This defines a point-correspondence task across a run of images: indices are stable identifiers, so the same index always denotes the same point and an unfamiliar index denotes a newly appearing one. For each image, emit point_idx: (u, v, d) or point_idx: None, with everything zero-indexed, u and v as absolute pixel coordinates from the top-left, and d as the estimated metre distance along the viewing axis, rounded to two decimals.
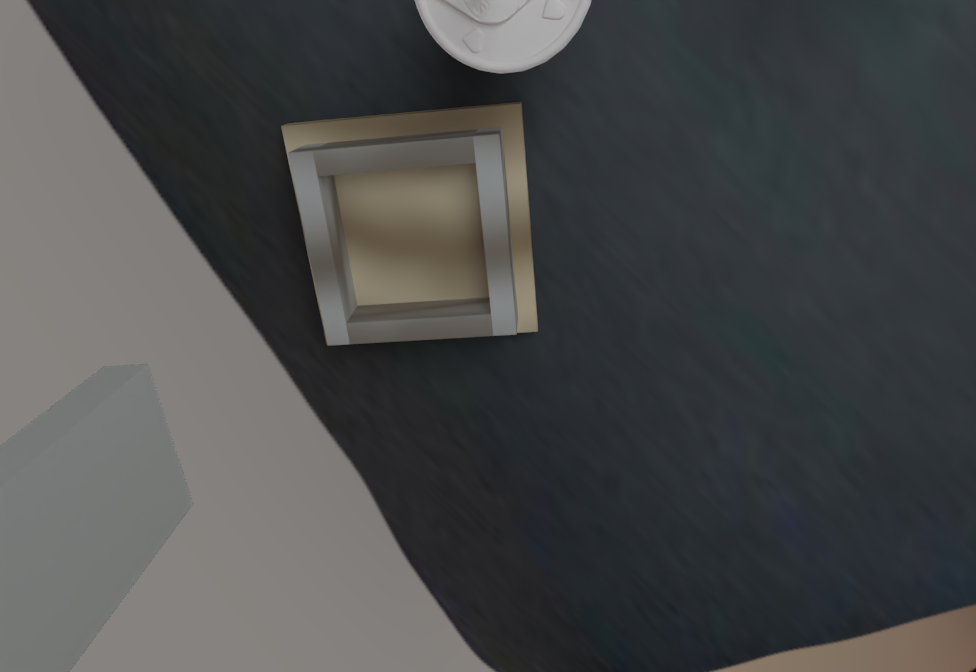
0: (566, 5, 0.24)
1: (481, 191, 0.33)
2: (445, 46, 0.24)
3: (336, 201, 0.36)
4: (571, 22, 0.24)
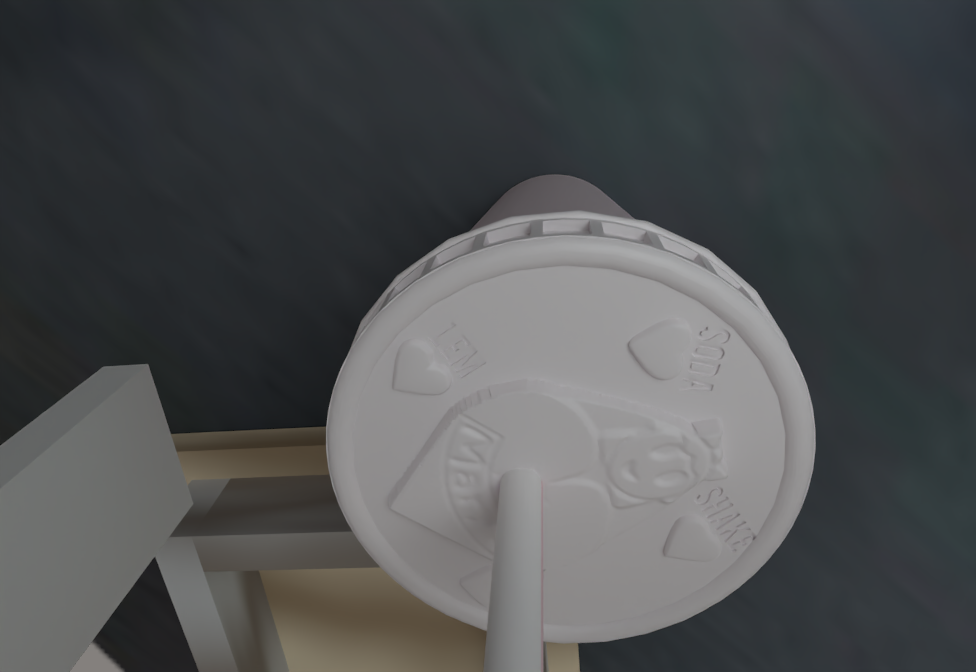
0: (727, 532, 0.09)
1: None
2: (418, 596, 0.10)
3: None
4: (736, 564, 0.09)
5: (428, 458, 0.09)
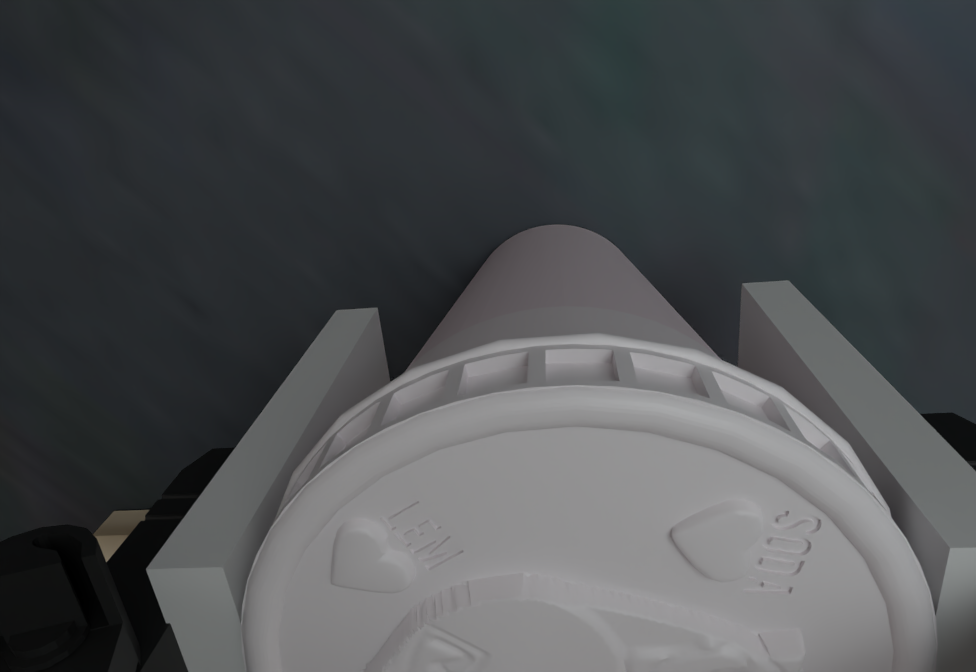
0: None
1: None
2: None
3: None
4: None
5: None
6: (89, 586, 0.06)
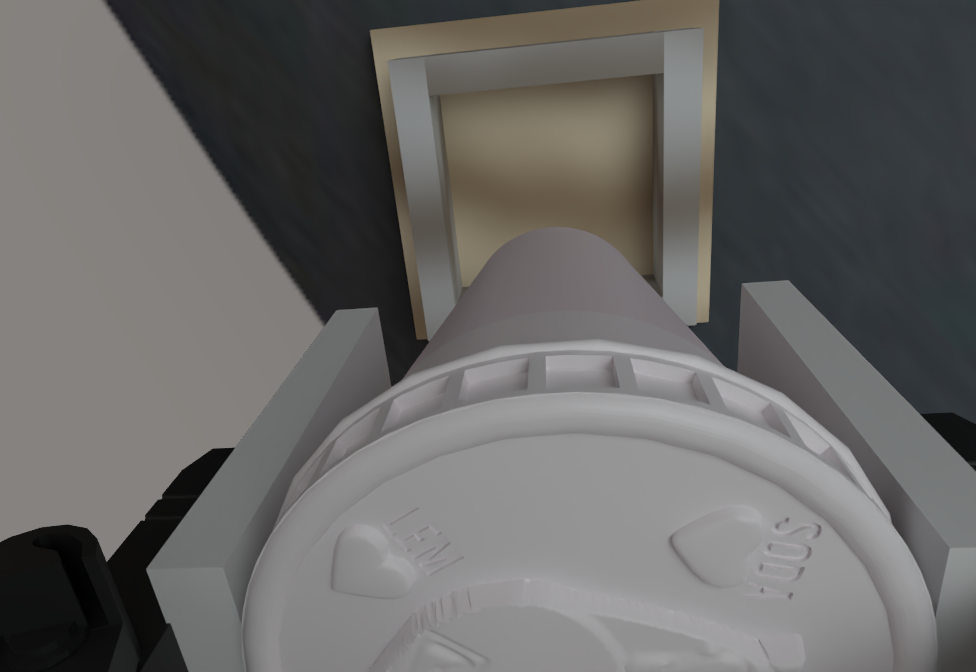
0: None
1: (668, 116, 0.22)
2: None
3: (443, 139, 0.25)
4: None
5: None
6: (89, 586, 0.06)
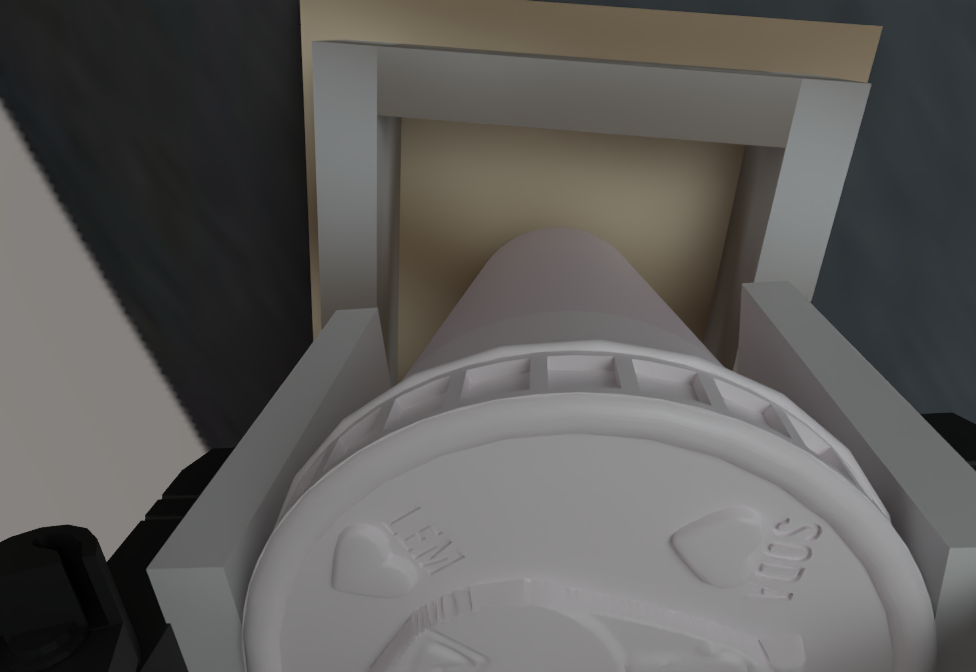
0: None
1: (776, 220, 0.13)
2: None
3: (397, 183, 0.16)
4: None
5: None
6: (89, 586, 0.06)
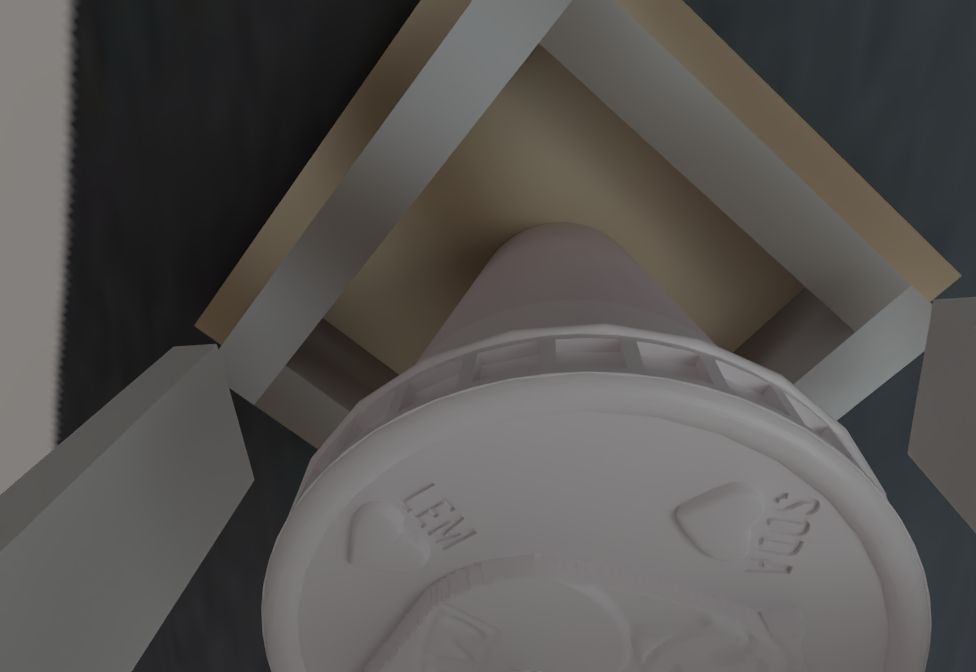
0: None
1: (801, 385, 0.13)
2: None
3: None
4: None
5: (398, 653, 0.06)
6: None
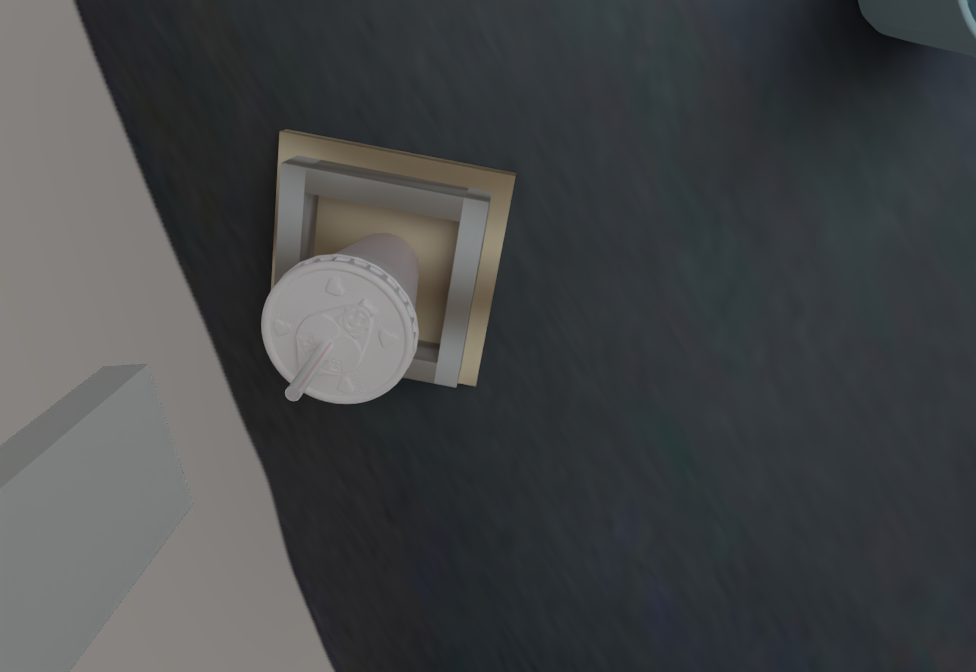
0: (396, 331, 0.28)
1: (458, 249, 0.34)
2: (328, 400, 0.29)
3: (315, 217, 0.36)
4: (406, 339, 0.28)
5: (298, 351, 0.28)
6: None
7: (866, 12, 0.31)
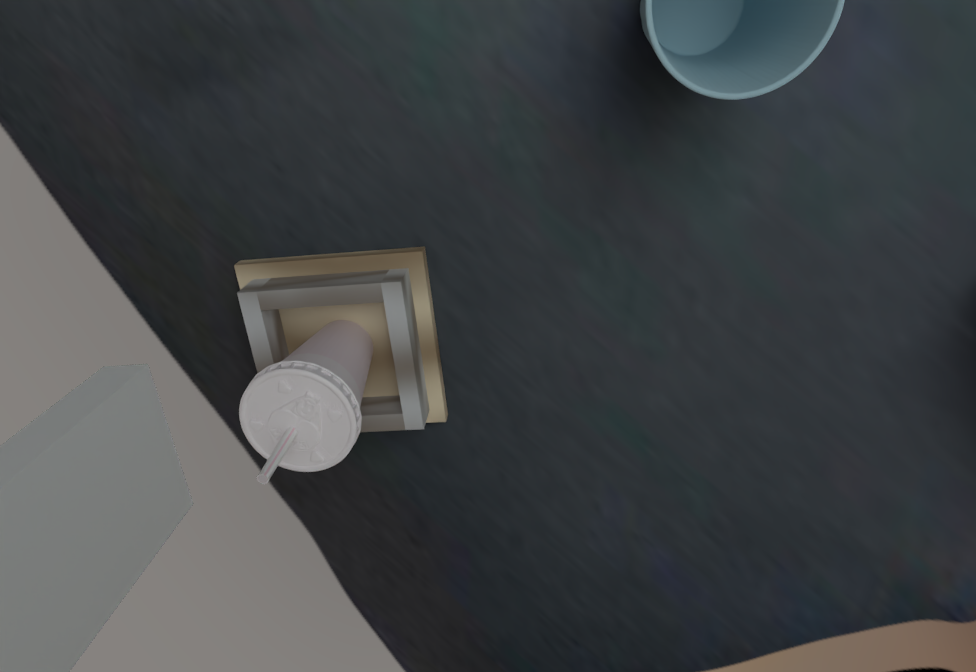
0: (338, 408, 0.36)
1: (389, 322, 0.41)
2: (306, 471, 0.37)
3: (279, 322, 0.44)
4: (348, 412, 0.36)
5: (273, 440, 0.37)
6: None
7: None
